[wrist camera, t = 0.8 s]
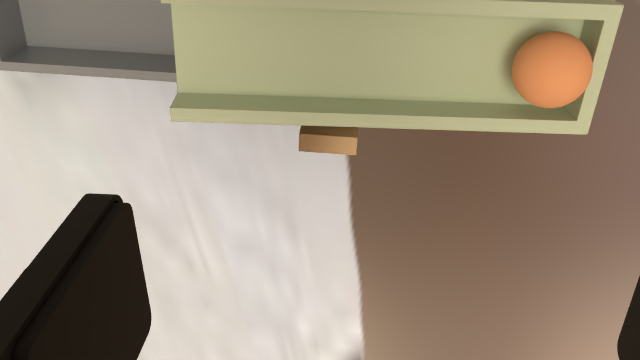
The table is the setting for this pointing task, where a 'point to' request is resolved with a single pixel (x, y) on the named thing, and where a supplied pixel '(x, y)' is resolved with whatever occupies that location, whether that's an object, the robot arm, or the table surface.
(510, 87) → the lever
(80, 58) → the dish
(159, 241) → the table surface
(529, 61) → the ball
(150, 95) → the table surface
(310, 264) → the table surface
